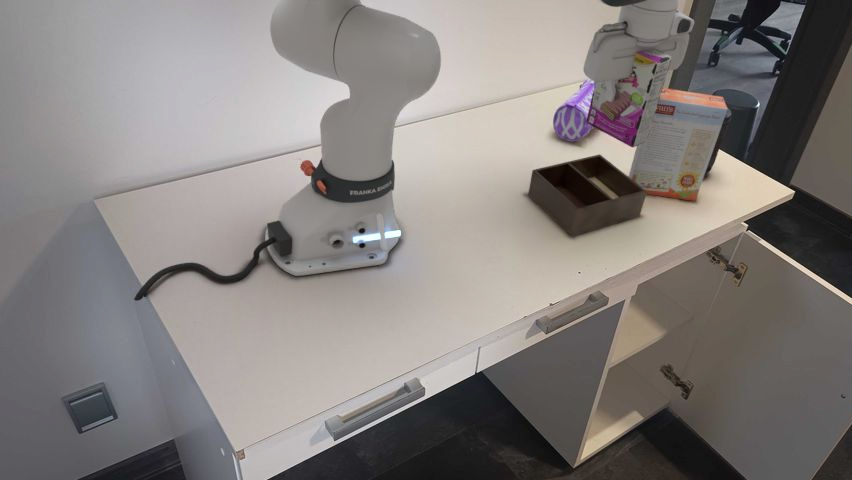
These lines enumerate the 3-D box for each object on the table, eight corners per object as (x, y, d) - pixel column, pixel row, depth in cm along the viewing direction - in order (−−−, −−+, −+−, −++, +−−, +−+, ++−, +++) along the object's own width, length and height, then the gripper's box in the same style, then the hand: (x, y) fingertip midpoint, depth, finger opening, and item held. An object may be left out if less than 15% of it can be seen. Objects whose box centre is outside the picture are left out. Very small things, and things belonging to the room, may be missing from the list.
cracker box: (692, 187, 145) (724, 95, 132) (695, 202, 141) (729, 109, 127) (627, 176, 145) (653, 83, 132) (628, 191, 141) (655, 97, 127)
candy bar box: (584, 124, 128) (603, 37, 117) (600, 117, 131) (620, 32, 120) (632, 149, 123) (657, 61, 112) (648, 141, 126) (673, 55, 115)
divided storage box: (571, 236, 126) (577, 210, 123) (527, 195, 135) (532, 169, 131) (639, 216, 134) (647, 191, 130) (593, 178, 143) (599, 154, 139)
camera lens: (666, 163, 152) (686, 100, 142) (697, 160, 154) (718, 99, 145) (685, 182, 146) (707, 119, 137) (716, 179, 149) (740, 117, 139)
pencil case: (577, 102, 170) (584, 65, 164) (612, 112, 168) (621, 76, 162) (547, 138, 154) (554, 99, 148) (586, 150, 152) (595, 111, 146)
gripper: (609, 33, 106) (591, 114, 115) (701, 21, 116) (678, 96, 125) (585, 18, 110) (569, 97, 119) (676, 7, 120) (655, 82, 129)
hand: (625, 97), depth 122 cm, fingers closed on candy bar box, 5 cm apart
